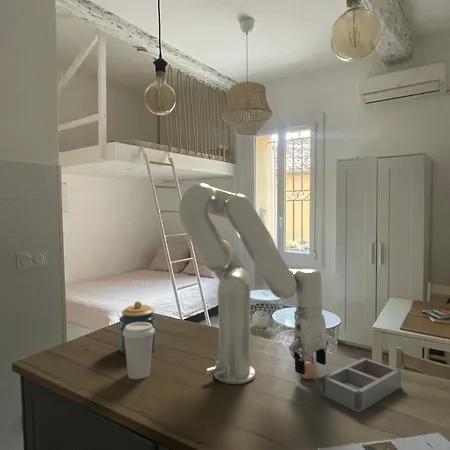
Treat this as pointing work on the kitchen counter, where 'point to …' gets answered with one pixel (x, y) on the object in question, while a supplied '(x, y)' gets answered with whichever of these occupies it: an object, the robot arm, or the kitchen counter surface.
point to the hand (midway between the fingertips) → (310, 368)
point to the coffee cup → (138, 349)
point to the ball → (309, 370)
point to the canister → (137, 315)
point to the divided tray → (361, 383)
